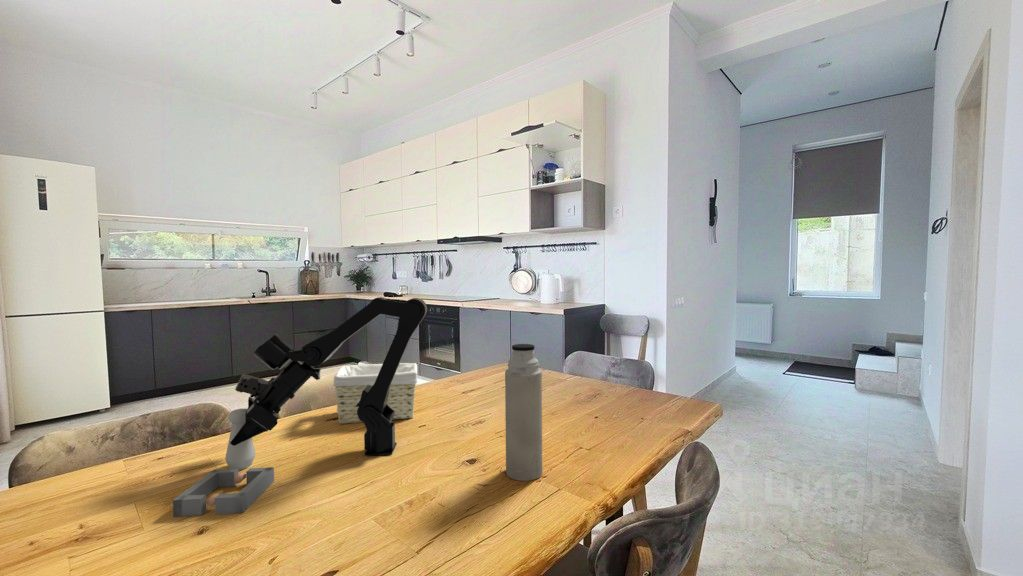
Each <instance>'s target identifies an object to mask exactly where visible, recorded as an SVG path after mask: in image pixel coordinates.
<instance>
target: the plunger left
mask: <svg viewBox="0 0 1023 576" xmlns="http://www.w3.org/2000/svg"><path fill="white" fill-rule="evenodd" d="M219 494H220V493H218V492H217V493H214V494H212V495H211V496H209V498H207V499H206V505H207V506H208V507H215V498H216V497H217V496H218V495H219Z"/></svg>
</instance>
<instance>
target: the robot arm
mask: <svg viewBox="0 0 1023 576" xmlns="http://www.w3.org/2000/svg"><path fill="white" fill-rule="evenodd" d="M427 312H428V306H427V303H426V302H425V301H424V300H423V299H422V298H419V297H413V298H409V299H407V300H405V299H394V298H385V297H384V296H383V297H382V296H380V297H375V298H374V299H372V300H371V301H370V302H369V303H368V304H367V305H366V306H364V307H363V308H361V309H360V310H359V311H358V312H356V313H355V314H353V315H352V316H350V317H349V318H348V319H347V320H345V321H344V322H343V323H341V324H340V325H338V326H337V327H336V328H334V329H333V330H332V331H330V332H328V333H326V334H324V335H322V336H320V337H318V338H316V339H314V340H312V341H309V342H308V343H306V344H305V345H303V346H302V345H299V346H298V347H293V346H292V345H291V344H290V343H288V342H287V341H286V340H285V339H284V338H283V337H282V336H281V335H280V334H279V333H276V334H274V335H272V337H270V338H269V339H268V340H266V341H265V342H264V343H263V344H260V345H259V346H258V347H257V348H256V350H254V352H253V355H254V356H255V358H257V359H258V360H259V361H261V362H262V363H263V364H264V365H266V366H267V367H268V368H269V369H270V370H272V371H273V370H277V369H278V370H282V369H283V368H284V369H283V370H282V371H280V373H279V374H278V375H277V376H276V377H275V376H274V377H271V378H270V379H269V380H267V379H266V380H265V379H263V378H260V377H257V376H253V375H250V374H246V373H242V374H241V376H240V379H239V380H238V383H236V384H237V385H236V386H235V391H236V392H238V393H245V394H249V396H248V400H247V404H248V406H247V408H246V409H248V410H247V411H246V414H245V423H244V424H243V426H242V427H241V428H240V430H239V431H238V432H237V434H236V435H235V436H234V438H233V439H232V441H231V442H230V444H232V445H233V446H235V445H237V444H239V443H241V442H243V441H245V440H248V439H250V438H252V439H253V438H254V437H256V436H258V435H261V434H263V433H265V432H270V431H273V428H275V427H276V426H277V425H278V414H279V413H280V412H281V410H282V407H283V406H284V405H285V404H286V403H287V402H288V401H289V400H293V399H294V398H295V393H297V392H298V390H300V389H301V387H303V386H304V384H305V383H306V382H308V380H309V379H311V377H312V378H313V379H315V380H316V381H318V380H320V379H321V370H322V369H321V368H320V367H319V368H315V367H318V366H321V364H324V363H325V362H326V361H328V360H329V359H330V358H331V357H332V356H333V355H334V354H335V353H336V352H337V351H338V350H339V349H340V348H341V346H342V345H343V344H344V343H345V342H346V341H347V340H348V339H349V338H351V337H352V336H353V335H355V334H356V333H357V332H359V331H360V330H362V329H363V328H364V327H366V326H367V325H368V324H370V323H371V322H372V321H373V320H375V319H376V318H377V317H379V316H380V315H385V316H391V317H397V318H398V322H397V327H396V329H397V330H396V332H395V335H394V337H393V340H392V341H391V344H390V346H389V349H388V351H387V353H386V356H385V359H384V360H383V363H382V364H383V365H382V367H381V369H380V372H379V374H378V376H377V379H376V381H375V383H374V385H373V386H370V385H367V386H366V388H365V389H364V390H363V392H362V395H361V399H360V401H359V402H358V404H357V405H356V407H358V410H357V415H358V417H359V419H360V420H361V421H362V422H361V423H363V424H364V426H365V430H366V431H365V432H364V435H363V440H364V441H363V442H364V443H363V444H364V445H363V446H364V447H363V449H364V451H365V452H364V456H385V455H387V456H388V455H393V453H394V452H395V449H396V446H397V442H396V436H395V435H396V430H395V428H396V425H395V422H392V420H393V417H394V414H395V411H394V410H393V409H392V408H390V407H389V406H388V405H387V400H388V395H389V389H390V385H391V382H392V380H393V378H394V375H395V373H396V371H397V368H398V366H399V364H400V363H401V361H402V358H403V357H404V354H405V352H406V350H407V347H408V345H409V342H410V341H411V338H412V336H413V334H414V333H415V332H416V330H417V328H418V326H419V325H420V324H421V322H422V321H423V319H424V318H425V316H426V315H427ZM287 364H288V365H287Z"/></svg>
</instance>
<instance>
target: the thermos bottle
mask: <svg viewBox="0 0 1023 576" xmlns="http://www.w3.org/2000/svg"><path fill="white" fill-rule="evenodd" d="M535 347H536V346H535V345H534V344H529V343H516V344H513V345H511V349H512V352H511V358H510V359H508V361H507V363H508V364H507V369H505V371H504V383H505V385H504V386H505V387H504V391H505V392H504V393H505V395H504V397H505V398H504V399H505V403H504V406H505V415H504V416H505V417H504V418H505V473H506V475H507V477H509V478H510V479H513V480H515V481H519V482H521V481H524V482H525V481H534V480H537V479H538V478H540V477H542V475H543V371H542V370H541V369H540V368H539V366H540V363H539V360H538V359H537V358H536V357H535Z"/></svg>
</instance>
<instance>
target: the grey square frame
mask: <svg viewBox="0 0 1023 576" xmlns="http://www.w3.org/2000/svg"><path fill="white" fill-rule="evenodd" d="M245 473H246V478H245V479H246V485H245V486H244V487H243V488H242V489H241V490H240V491H239V492H235V493H232V492H231V493H219V495H218V496H217V497H216V498H215V505H214V514H215V515H227V514H229V515H230V514H243V513H244V512H246V510H247V509H248V508H249V507H251V506H252V504H253V503H254V502H255V501H257V499H259V497H260V496H261V495H262V494H263V493H264V492H265V491H266V490H267V489H268V488H269V487H270V486H271V485H273V483H274V482H275V467H273V466H272V467H250V468H249V469H248V470H246V471H245ZM238 474H239V470H238V469H230V468H225V469H213V470H211V471H210V472H209V473H208V474H206V475H205V476H204V477H202V478H201V479H199V480H198V481H197V482H195V483H194V484H193V485H191V486H190V487H189V488H187V489H186V490H184V491H183V492H182V493H180V494H179V495H178V496H176V497H175V498H174V499H172V510H173V511H172V516H173V517H189V516H190V517H191V516H202V515H203V514H204V513H206V512H207V510H208V509H207V497H208V496H209V495H210V494H211V493H213V491H215V490H216V489H218V488H227V487H228V488H230V487H235V486H237V485H238V484H239V483H235V482H234V477H235V476H237V475H238Z"/></svg>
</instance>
